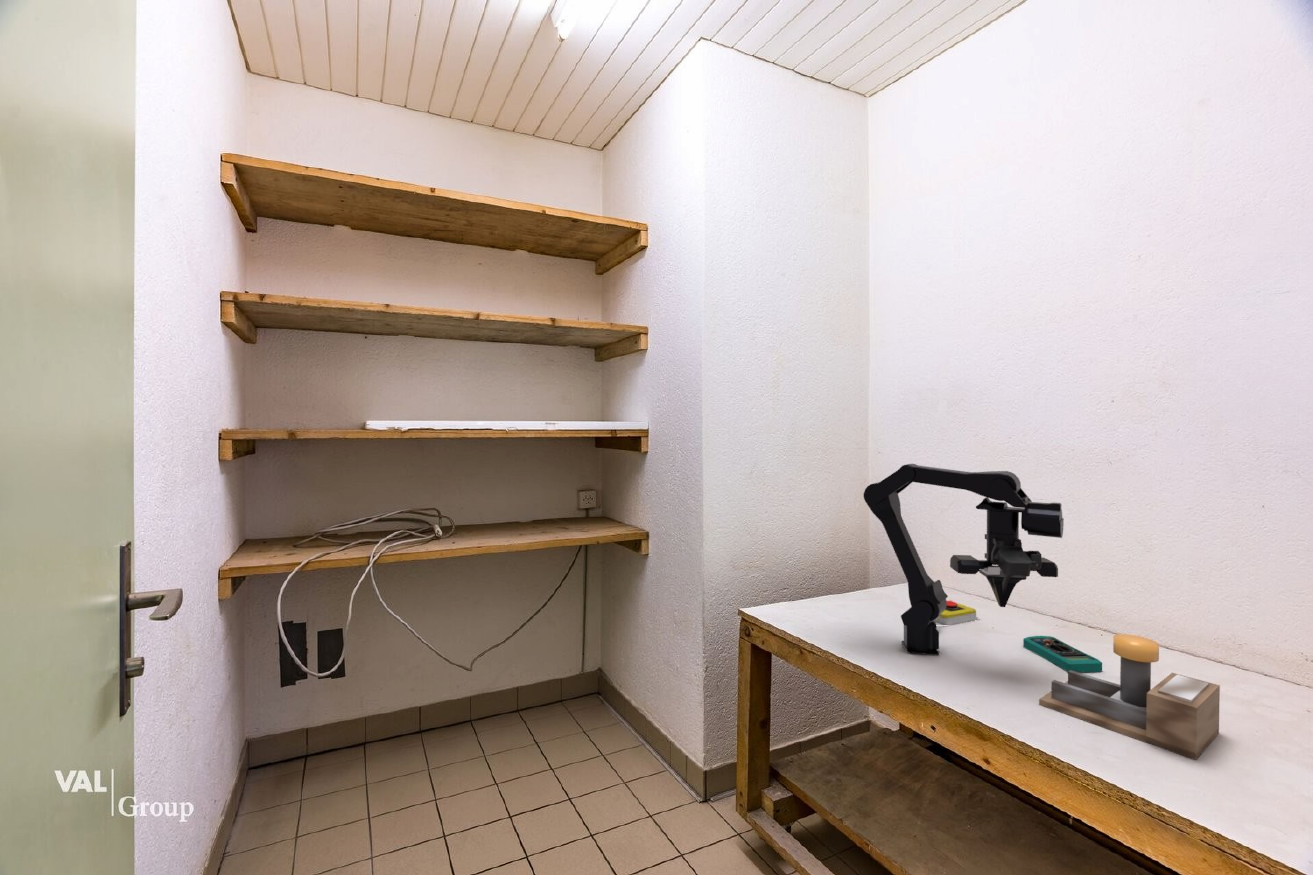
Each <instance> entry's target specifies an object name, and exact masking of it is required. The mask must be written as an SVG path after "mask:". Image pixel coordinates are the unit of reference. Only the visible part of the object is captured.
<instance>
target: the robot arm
mask: <svg viewBox="0 0 1313 875" xmlns="http://www.w3.org/2000/svg"><path fill="white" fill-rule="evenodd" d="M912 483H917V484H918V483H919V484H924V485H930V486H938V487H945V488H951V489H958V490H965V491H968V492H972V493H974V494H977V495H979V496H980V497H981V496H982V497H984V498H983V499H982V501H981V502H979V504H977V505H975V509H977V510H985V511H986V533H985V534H984V539H985V540H986V552H985V553H984V559H977V558H975V557H973V555H970V554H969V555H968V554H952V556H951V557H950V559H949V563H950V564H949V568H950V569H952V570H954V571H955V572H956V573H957V574H961V575H976V574H977V573H978V572H979V574H981V575H982V576H984V577H985V578H986V580H987V582H988V583H989V585H990V588H991V589H992V592H993V595H994V596H995V599H996V602H997V604H998V606H999V607H1000V608H1005V607H1006V606H1007V604H1008V601H1009V599H1010V597H1011V595H1012V592H1013V590H1014V589H1015V587H1016V585H1017V584H1018V583H1020V582H1021V581H1025V580H1027V577H1030V576H1031V575H1030V574H1031V572H1036V573H1037V574H1038V575H1040V577H1042V578H1043V577H1044V578H1045V577H1046V578H1058V577H1059V567H1058V565H1057V564H1056V563H1055V562H1054V561H1052V560H1050V559H1048V558H1045V557H1042V553H1041V552H1040V551H1039V550H1028V551H1027V550H1025V551H1024V550H1023V543H1022V539H1020V538H1019V537H1020V534H1019V532H1020V529H1019V527H1020V526H1019V525H1020V524H1021V529H1022V530H1024V532H1027V535H1028V536H1037V537H1047V538H1058V539H1062V538H1063V534H1064V525H1065V524H1064V521H1065V519H1064V517H1063V510H1062V502H1036V501H1035V502H1034V501H1032V499H1031V498H1030V497H1029V496H1028V495H1027V494H1026V492H1025V491H1024V490H1023V488H1021V487H1022V485H1021V481H1020V479H1019V477H1018V476H1017V475H1016V474H1015V473H1013V472H1011V471H1008V470H997V471H993V470H992V471H965V470H964V471H963V470H956V469H948V468H941V467H932V466H926V465H925V466H924V465H917V464H916V463H908V464H904V465H902V466H901V467H899V468H898V469H897V470H896V471H895V472H893V473H892V474H889V475H888V476H887V477H885V478H884V479H882V480H880V481H879V482H878V481H877V482H875V483H871V484H869V485H867V486H866V488H865V489H864V492H863V499H864V502H865V503H866V505H867V506H868V508H869V510H870V511H871V513H872V514H873V515H874V516H875V517H876V519H877V520H879V521H880V523H881V524H882V526H883V528H884V530H885V532H886V535H887V537H888V540H889V542H890V545H891V547H892V549H893V550H894V553H895V555H896V558H897V560H898V562H899V565H900V568H901V570H902V572H903V573H904V574H903V575H904V576H905V579H906V582H907V588H908V589H907V590H908V598H909V602H910V606H911V607H909V608H908V609H907V610H906V611H905V612H903V613H902V614H901V615H900V618H901V619H900V620H901V621H902V624H903V640H901V645H902V646H903V647H904V649H905V650H906V652H907V653H908V654H917V655H930V656H931V655H933V656H934V655H935V656H939V654H940V651H938V650H939V649H940V631H939V630H938V629H937V626H936V624H935V623H934V622H933V621H934V620H935V619H936V618H937V617H938V616H939V615H940V614H941V613H942V612H943V611H944V610H945V609H946V606H947V601H948V600H947V598H948V597H949V596H948V594H947V593H946V592H945V590H944V588H943V585H942V582H941V579H938V580H935V581H934V580H933V578H931V577H930V576H929V575H928V573H927V571H926V568H925V566H924V564H923V562H922V559H921V558H920V554H919V553H918V550H917V548H916V546H915V544H914V542H913V540H912V537H911V534H910V533H909V530H908V528H907V526H906V524H905V521H904V519H903V517H902V512H901V510H902V509H901V502H900V501H901V500H900V497H899V494H900V493H901V492H903V491H904V490H905V489H906V488H907V487H909V486H910V485H912ZM992 500H995V501H992ZM1003 501H1004V502H1003ZM1008 505H1009V506H1008ZM1019 514H1021V519H1020V515H1019ZM1019 519H1020V520H1021V521H1020V520H1019ZM1020 522H1021V523H1020ZM1019 523H1020V524H1019ZM985 559H986V560H985Z"/></svg>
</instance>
